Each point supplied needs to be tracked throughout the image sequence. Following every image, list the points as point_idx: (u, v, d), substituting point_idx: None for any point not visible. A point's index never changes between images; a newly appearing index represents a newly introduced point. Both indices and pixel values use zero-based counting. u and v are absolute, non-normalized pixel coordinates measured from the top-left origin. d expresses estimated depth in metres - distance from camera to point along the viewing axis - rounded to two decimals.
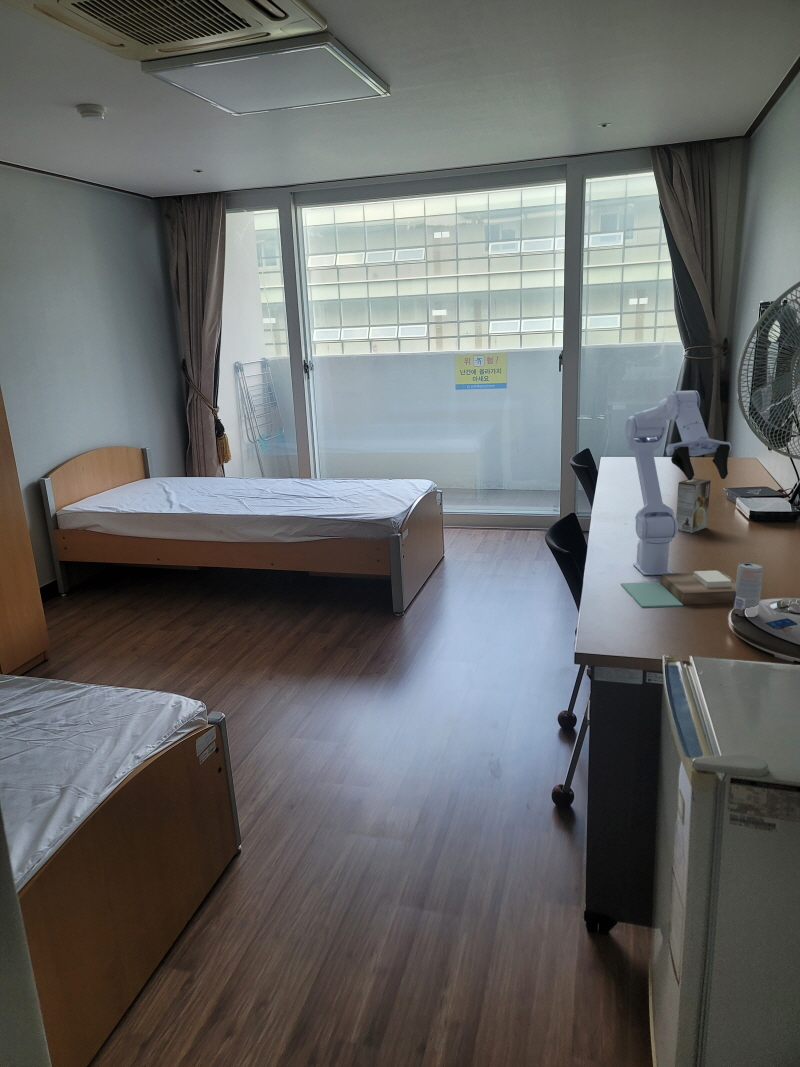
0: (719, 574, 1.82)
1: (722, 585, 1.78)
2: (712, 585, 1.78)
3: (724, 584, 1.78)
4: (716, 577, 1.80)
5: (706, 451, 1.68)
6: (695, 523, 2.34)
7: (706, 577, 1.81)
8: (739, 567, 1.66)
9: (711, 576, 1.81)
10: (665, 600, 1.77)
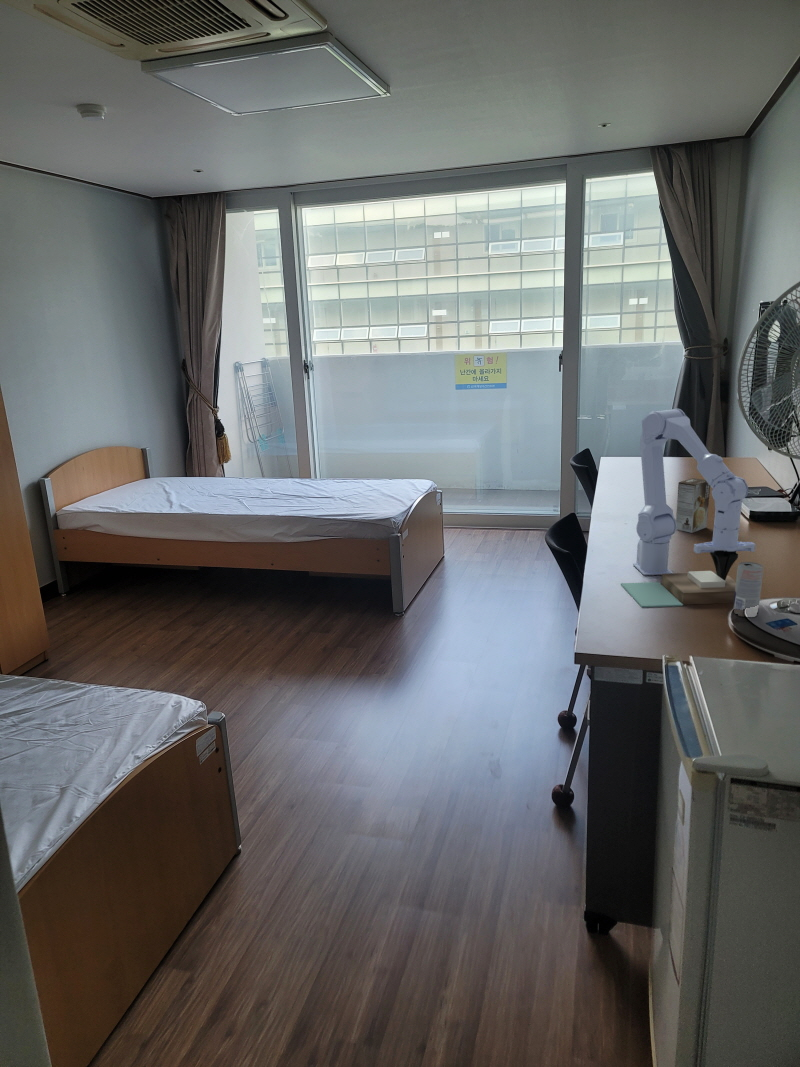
0: (713, 574, 1.82)
1: (716, 585, 1.78)
2: (706, 585, 1.78)
3: (718, 584, 1.78)
4: (710, 577, 1.80)
5: None
6: (695, 523, 2.34)
7: (700, 577, 1.81)
8: (739, 567, 1.66)
9: (705, 576, 1.81)
10: (665, 600, 1.77)
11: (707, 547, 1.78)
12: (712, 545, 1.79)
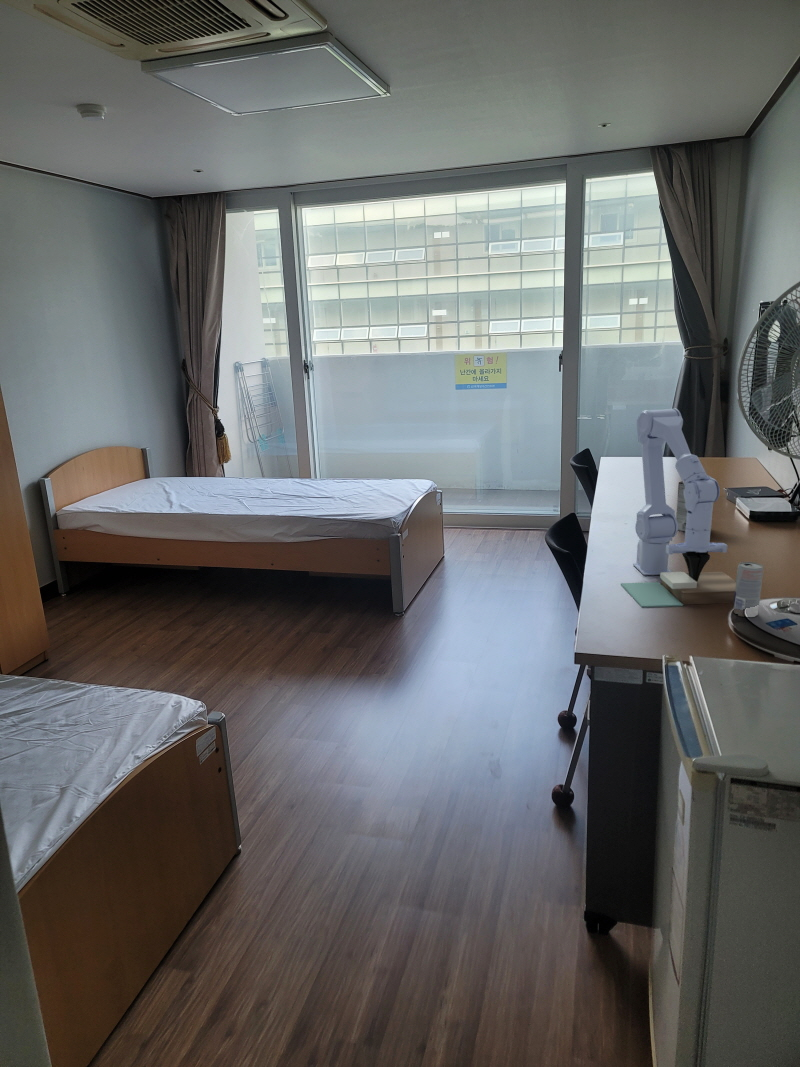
0: (685, 575, 1.82)
1: (687, 586, 1.78)
2: (677, 586, 1.78)
3: (690, 585, 1.78)
4: (682, 578, 1.80)
5: None
6: None
7: (672, 578, 1.80)
8: (739, 567, 1.66)
9: (677, 577, 1.81)
10: (665, 600, 1.77)
11: (679, 548, 1.78)
12: (684, 546, 1.79)
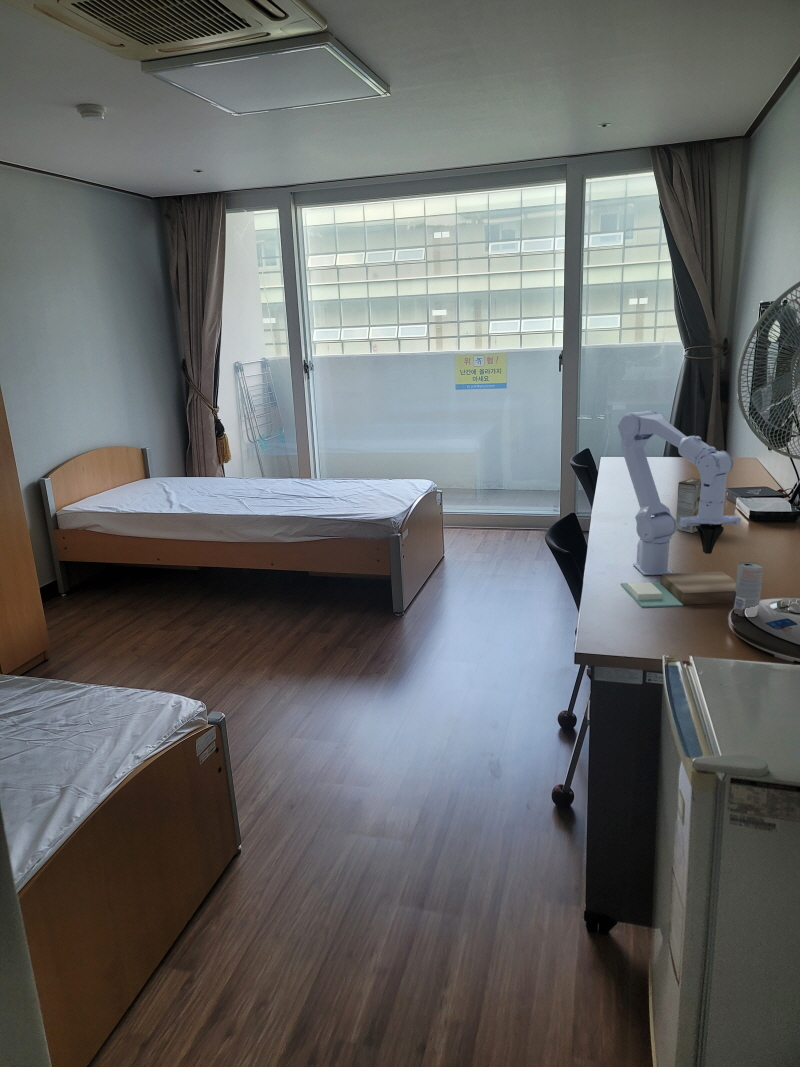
0: None
1: (646, 596, 1.78)
2: (656, 595, 1.78)
3: (644, 596, 1.78)
4: None
5: None
6: None
7: None
8: (739, 567, 1.66)
9: None
10: (665, 600, 1.77)
11: (693, 520, 1.80)
12: (698, 518, 1.81)
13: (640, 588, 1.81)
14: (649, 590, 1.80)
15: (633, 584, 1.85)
